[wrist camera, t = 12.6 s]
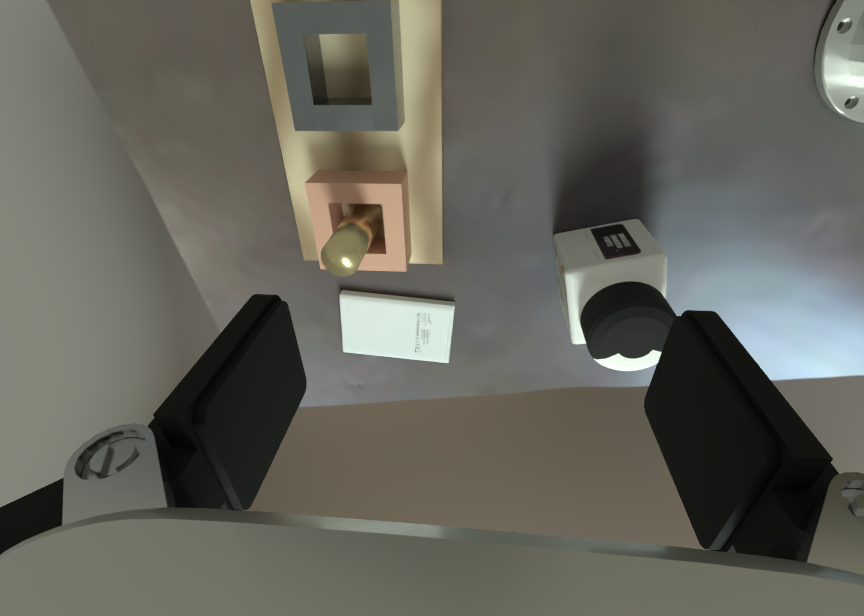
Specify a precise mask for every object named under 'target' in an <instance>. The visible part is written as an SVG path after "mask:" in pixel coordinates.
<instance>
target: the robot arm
mask: <svg viewBox="0 0 864 616" xmlns="http://www.w3.org/2000/svg"><path fill="white" fill-rule="evenodd" d="M838 25H839V27H838V28H837V26H838ZM814 71H815V79H816V85H817V88H818V90H819V93H820V95H821V98H822V99H823V100H824V101H825V103H826V104H827V105H828V106H829V108H830V109H832V110H833V111H835V112H836V113H837V114H839V115H840V116H842V117H845V118H848V119H851V120H854V121H858V122H862V123H864V0H837V1H836V3H835V4H834V6H833V8H832V9H831V11H830V13H829V15H828V18H827V20H826V22H825V24H824V26H823V29H822V31H821V34H820V38H819V41H818V45H817V49H816V55H815V66H814ZM305 391H306V376H305V372H304V368H303V364H302V360H301V356H300V352H299V348H298V344H297V340H296V336H295V332H294V328H293V324H292V319H291V315H290V311H289V307H288V304H287V303H286V302H285V301H281V298H280V297H279V296H278V295H263V294H255V295H253V296H252V297H251V298H250V299H249V300H248V301H247V302H246V304H245V305H244V306H243V307H242V308H241V310H240V311H239V312H238V313H237V314H236V316H235V317H234V318H233V319H232V320H231V322H230V323H229V324H228V325H227V326H226V328H225V329H224V330H223V331H222V332H221V334H220V335H219V336H218V337H217V339H216V340H215V341H214V342H213V343H212V345H211V346H210V347H209V348H208V349H207V351H206V352H205V353H204V354H203V355H202V357H201V358H200V359H199V360H198V361H197V363H196V364H195V365H194V366H193V367H192V369H191V370H190V371H189V372H188V373H187V375H186V376H185V377H184V378H183V380H182V381H181V382H180V383H179V384H178V385H177V387H176V388H175V389H174V390H173V392H172V393H171V394H170V395H169V396H168V398H167V399H166V400H165V401H164V402H163V403H162V405H161V406H160V407H159V408H158V409H157V411H156V412H155V413H154V414H153V415H154V417H155V418H154V419H153V420H152V421H151V423H150V424H149V425H148V426H145V425H142V424H135V423H134V424H125V425H119V426H116V427H113V428H110V429H107V430H105V431H103V432H101V433H99V434H97V435H95V436H94V437H92V438H91V439H89V440H88V441H86V442H85V443H83V444H82V445H81V446H80V447H79V448H78V449H77V450H76V451H75V452H74V453H73V455H72V456H71V457H70V459H69V460H68V462H67V464H66V467H65V471H64V478H62V479H60V480H58V481H56V482H54V483H52V484H50V485H48V486H45V487H43V488H41V489H39V490H37V491H35V492H32V493H30V494H28V495H26V496H24V497H22V498H20V499H17V500H15V501H14V502H11V503H9V504H7V505H5V506H3V507H0V616H864V474H863V473H858V472H849V473H848V472H845V473H842V474H839V473H838V472H837V470H836V469H835V468H834V467H833V465H832V464H831V463H830V462H831V461H832V460H833V458H832V457H831V456H830V455H829V453H828V452H827V451H826V449H825V448H824V447H823V446H822V444H821V443H820V442H819V441H818V439H817V438H816V437H815V436H814V434H813V433H812V432H811V431H810V430H809V428H808V427H807V426H806V425H805V423H804V422H803V421H802V419H801V418H800V417H799V416H798V414H797V413H796V412H795V411H794V409H793V408H792V407H791V406H790V405H789V403H788V402H787V401H786V399H785V398H784V397H783V396H782V394H781V393H780V392H779V391H778V389H777V388H776V387H775V386H774V384H773V383H772V382H771V380H770V379H769V378H768V377H767V375H766V374H765V373H764V372H763V370H762V369H761V368H760V367H759V365H758V364H757V363H756V362H755V360H754V359H753V358H752V357H751V355H750V354H749V353H748V352H747V350H746V349H745V348H744V347H743V345H742V344H741V343H740V342H739V340H738V339H737V338H736V337H735V335H734V334H733V333H732V332H731V330H730V329H729V328H728V326H727V325H726V324H725V323H724V321H723V320H722V319H721V318H720V316H719V315H718V314H717V313H716V312H713V311H692V310H687V311H685V312H684V313H683V314H682V315H681V316H677V317H675V318H674V320H673V322H672V325H671V328H670V330H669V333H668V336H667V339H666V341H665V344H664V347H663V350H662V352H661V355H660V358H659V361H658V363H657V366H656V369H655V372H654V375H653V377H652V380H651V383H650V386H649V388H648V391H647V394H646V397H645V402H644V408H645V413H646V415H647V418H648V420H649V423H650V425H651V428H652V430H653V432H654V435H655V437H656V439H657V442H658V444H659V447H660V449H661V452H662V454H663V457H664V459H665V461H666V464H667V466H668V468H669V471H670V473H671V476H672V478H673V480H674V483H675V485H676V488H677V490H678V493H679V495H680V498H681V500H682V502H683V505H684V507H685V509H686V512H687V514H688V517H689V519H690V522H691V524H692V527H693V529H694V531H695V534H696V536H697V539H698V541H699V543H700V545H701V546H702V547H703V548H704V549H709V550H701V549H691V548H683V547H673V546H662V545H650V544H640V543H628V542H618V541H606V540H596V539H584V538H573V537H562V536H551V535H539V534H528V533H517V532H505V531H493V530H481V529H470V528H458V527H447V526H435V525H422V524H410V523H399V522H387V521H374V520H361V519H349V518H337V517H324V516H311V515H298V514H287V513H273V512H258V511H243V510H247V509H249V507H250V506H251V505H252V503H253V501H254V499H255V497H256V495H257V493H258V491H259V488H260V486H261V484H262V482H263V480H264V478H265V476H266V474H267V472H268V470H269V467H270V465H271V463H272V461H273V459H274V457H275V455H276V453H277V450H278V449H279V446H280V444H281V442H282V440H283V438H284V436H285V434H286V432H287V430H288V427H289V425H290V423H291V421H292V419H293V417H294V415H295V413H296V411H297V408H298V406H299V404H300V402H301V400H302V398H303V396H304V394H305Z"/></svg>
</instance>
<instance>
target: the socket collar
mask: <svg viewBox="0 0 864 616" xmlns="http://www.w3.org/2000/svg"><path fill="white" fill-rule="evenodd" d="M305 187H306V193H307V198H308V204H309V209H310V214H311V220H312V225H313V231H314V236H315V241H316V247H317V252H318V258H319V263H320V268H321V269H326V268H325V266H324V265H323V263H322V261H321V250H322V248H323V247H324V245H325V244H326V243H327V241H328V240H329V238H330V237H331V236H332V234H333V233H334V231H335V230H336V229H337V227H338V226H339V224H340V223H341V222H342V220H343V219H344V218H343V211H342V203H344V204H382V208H383V220H384V231H385V237H374V238H373V240H372V242H371V244H370V246H369V248H368V250H367V252H366V254H365V256H364V258H363V260H362V262H361V264H360V265H359V267H358V269H357V270H371V271H403V272H406V271H407V268H408V265H409V261H410V258H411V255H412V250H411V230H410V210H409V190H408V171H333V170H318V171H317V172H316V173H315V174H314V175H313V176H311V177H310V178H309V179H308V180H307V181H306V182H305Z"/></svg>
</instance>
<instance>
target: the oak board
mask: <svg viewBox="0 0 864 616" xmlns="http://www.w3.org/2000/svg"><path fill="white" fill-rule="evenodd" d="M250 1H251V6H252V11H253V16H254V20H255V25H256V30H257V35H258V40H259V45H260V49H261V54H262V59H263V64H264V69H265V74H266V78H267V83H268V88H269V93H270V98H271V102H272V107H273V112H274V117H275V122H276V127H277V131H278V136H279V141H280V146H281V151H282V156H283V160H284V165H285V170H286V175H287V180H288V185H289V189H290V194H291V199H292V204H293V209H294V213H295V218H296V223H297V228H298V233H299V238H300V242H301V247H302V252H303V257H304V260H319V258H318V252H317V247H316V241H315V236H314V231H313V225H312V220H311V214H310V209H309V204H308V198H307V193H306V187H305V182H306V181H307V180H308V179H309V178H310V177H311V176H313V175H314V174H315V173H316V172H317V171H318V170H333V171H408V190H409V210H410V230H411V250H412V255H411V258H410V261H409V263H421V264H443V258H444V222H443V0H394V1H399V11H400V31H401V51H402V70H403V90H404V110H405V123H404V124H403V125H402V127H401V128H400V129H399V131H295V128H294V123H293V117H292V112H291V107H290V101H289V96H288V90H287V85H286V80H285V74H284V69H283V64H282V58H281V53H280V47H279V42H278V37H277V31H276V26H275V20H274V15H273V10H272V4H271V3H291V2H328V1H365V0H250ZM319 38H320V46H321V53H322V60H323V67H324V74H325V81H326V89H327V96H328V98H372V97H371V85H370V74H369V63H368V51H367V40H366V33H363V34H319ZM353 205H354V204H344V203H342V211H343V218H344V217H345V216H346V215H347V213H348V212H349V211H350V209H351V208H352V206H353ZM379 205H380V206H381V208H382V204H379ZM382 210H383V208H382ZM375 237H385V231H384V220H383V221H382V223H381V225H380V227H379V229H378V231H377V233H376V235H375Z"/></svg>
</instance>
